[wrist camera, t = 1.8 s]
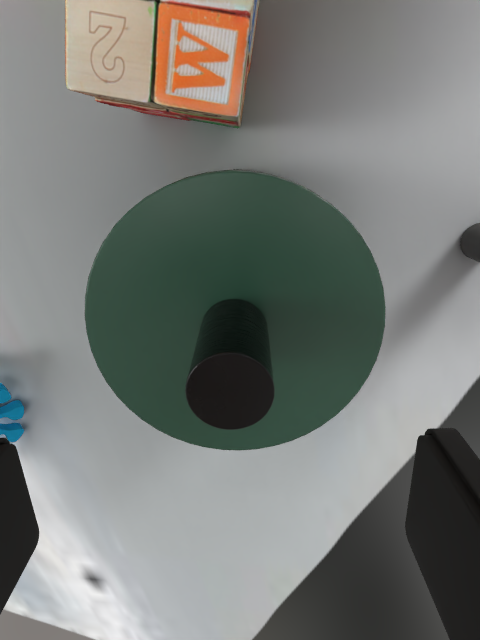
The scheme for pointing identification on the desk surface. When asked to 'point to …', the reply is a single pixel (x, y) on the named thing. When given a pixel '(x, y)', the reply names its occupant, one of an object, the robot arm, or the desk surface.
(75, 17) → the stack of blocks
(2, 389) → the gear
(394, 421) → the desk surface
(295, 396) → the lid
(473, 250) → the cylinder
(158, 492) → the desk surface
